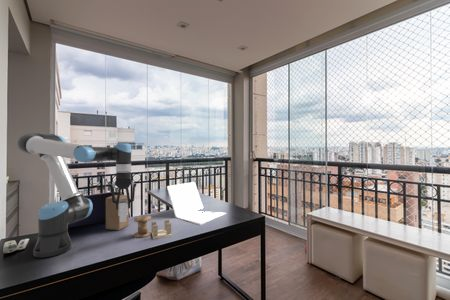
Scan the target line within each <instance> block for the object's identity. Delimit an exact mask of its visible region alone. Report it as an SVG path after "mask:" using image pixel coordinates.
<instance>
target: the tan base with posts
mask: <svg viewBox="0 0 450 300" xmlns="http://www.w3.org/2000/svg"><path fill="white" fill-rule="evenodd" d="M150 232H151V237H152V240H156V239H164V238H169V237H172V223H171V222H170V220H169V219H164V229H158V225H157V221H151V231H150Z"/></svg>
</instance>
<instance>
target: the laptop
mask: <svg viewBox="0 0 450 300" xmlns="http://www.w3.org/2000/svg"><path fill="white" fill-rule="evenodd" d="M166 189H167V193H168V197H169V199H170V203H171V206H172V209H173V210H172V211H173V212H174V217H175V218H176V219H177V218H178V220H181V221H186V222H189V223H192V224H195V225H197V226H198V225H199V226H202V225H204V224H207V223H208V222H210V221H213V220H215V219H217V218H220V217H222V216H224V215H226V214H227V212H223V211H217V212H215V211H214V212H213V211H205V212H204V211H198V210H200V209H201V210H203V208H204V204H203V202H202V199H201V196H200V192H199V190H198V186H197V184H196V181H191V182H186V183H177V184H172V185H167V186H166ZM204 209H205V208H204ZM202 212H203V213H202Z"/></svg>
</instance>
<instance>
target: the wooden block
mask: <svg viewBox="0 0 450 300" xmlns="http://www.w3.org/2000/svg"><path fill="white" fill-rule="evenodd" d="M117 195H118V194H115V200H116V201H117ZM122 198H127V194H125V195H124V194H120V198H119V203H120V199H122ZM127 202H128V199H127ZM129 214H130V208H129V209H128V215H127V217H126V222H120V216H118V210H116V203H113V202H112V195H111V196H107V197H106V198H105V230H113V231H115V230H116V231H120V230H122V229H123V228H126V227H127V226H129V224H130V222H129V221H130V217H129Z"/></svg>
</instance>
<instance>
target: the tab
mask: <svg viewBox="0 0 450 300" xmlns="http://www.w3.org/2000/svg"><path fill="white" fill-rule="evenodd" d="M126 210H127V198H122V199H120V222H126V217H127V215H126Z"/></svg>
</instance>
